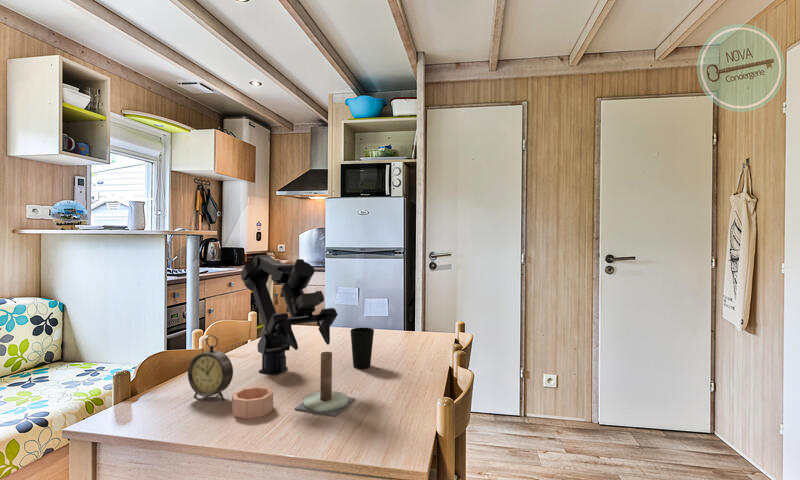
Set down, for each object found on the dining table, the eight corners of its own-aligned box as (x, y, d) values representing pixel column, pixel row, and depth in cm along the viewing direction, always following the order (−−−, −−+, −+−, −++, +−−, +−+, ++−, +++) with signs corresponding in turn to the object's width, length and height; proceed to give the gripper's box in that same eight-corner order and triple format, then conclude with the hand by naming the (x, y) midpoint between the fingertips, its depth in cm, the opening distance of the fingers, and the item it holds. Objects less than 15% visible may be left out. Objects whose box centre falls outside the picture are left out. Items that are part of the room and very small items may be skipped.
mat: (294, 409, 101) (294, 408, 101) (317, 394, 111) (317, 392, 111) (335, 416, 98) (335, 414, 98) (354, 399, 108) (354, 397, 108)
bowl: (224, 414, 98) (224, 397, 98) (249, 400, 106) (249, 385, 106) (256, 420, 95) (256, 402, 95) (279, 405, 103) (279, 389, 103)
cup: (369, 370, 132) (370, 333, 132) (346, 369, 133) (347, 331, 133) (376, 363, 139) (376, 328, 139) (354, 362, 141) (354, 326, 141)
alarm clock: (186, 398, 107) (187, 335, 107) (201, 391, 112) (202, 331, 112) (222, 403, 104) (223, 339, 104) (236, 396, 109) (237, 334, 109)
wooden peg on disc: (294, 408, 101) (295, 356, 101) (317, 392, 111) (317, 346, 111) (335, 414, 98) (336, 361, 98) (354, 397, 108) (355, 349, 108)
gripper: (272, 283, 108) (289, 333, 100) (334, 279, 120) (355, 324, 111) (260, 309, 114) (275, 358, 106) (321, 303, 126) (339, 347, 118)
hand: (313, 346), depth 110 cm, fingers open, 9 cm apart
